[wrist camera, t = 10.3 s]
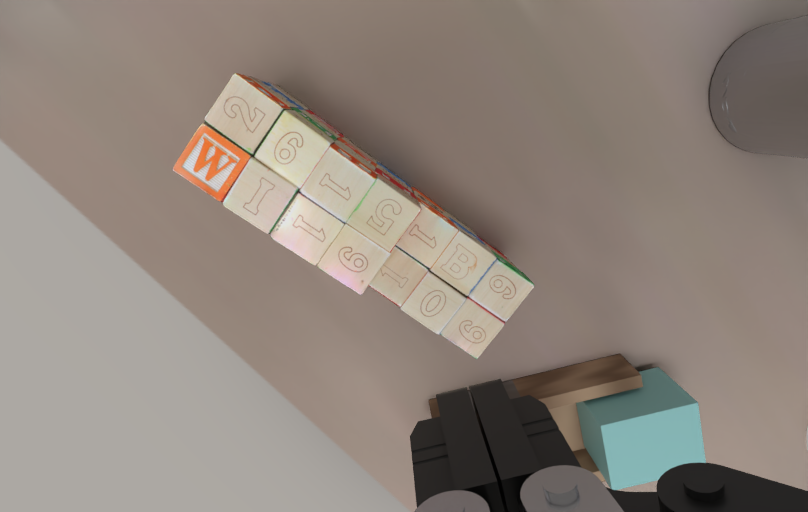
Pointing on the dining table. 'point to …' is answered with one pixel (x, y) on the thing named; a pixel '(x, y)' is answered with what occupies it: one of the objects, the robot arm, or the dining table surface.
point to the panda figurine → (807, 438)
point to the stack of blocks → (349, 213)
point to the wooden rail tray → (572, 395)
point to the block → (642, 431)
